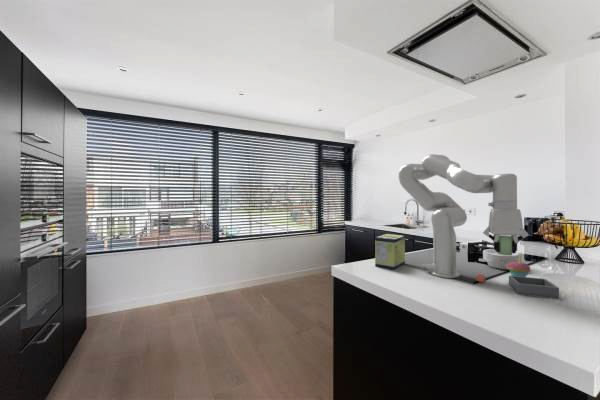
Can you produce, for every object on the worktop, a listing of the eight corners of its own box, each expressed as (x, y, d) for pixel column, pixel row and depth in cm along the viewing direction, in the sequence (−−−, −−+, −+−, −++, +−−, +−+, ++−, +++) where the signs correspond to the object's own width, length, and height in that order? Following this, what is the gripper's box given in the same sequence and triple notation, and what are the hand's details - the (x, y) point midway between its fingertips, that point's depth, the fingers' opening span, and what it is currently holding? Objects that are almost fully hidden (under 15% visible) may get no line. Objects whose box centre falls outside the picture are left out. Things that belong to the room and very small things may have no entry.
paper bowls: (475, 263, 143) (475, 249, 143) (501, 262, 145) (501, 248, 145) (500, 272, 128) (500, 255, 128) (528, 270, 130) (528, 254, 129)
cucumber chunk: (499, 254, 103) (499, 236, 103) (496, 252, 107) (496, 235, 107) (513, 255, 101) (513, 237, 101) (510, 253, 105) (510, 235, 105)
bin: (518, 294, 101) (518, 283, 101) (508, 284, 111) (508, 275, 111) (558, 298, 97) (559, 287, 96) (545, 288, 106) (545, 278, 106)
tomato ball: (476, 283, 114) (476, 275, 113) (474, 280, 117) (474, 272, 117) (486, 284, 112) (486, 276, 112) (484, 281, 115) (484, 273, 115)
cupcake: (535, 281, 115) (535, 253, 115) (512, 280, 117) (513, 253, 116) (522, 275, 123) (523, 249, 123) (502, 274, 125) (502, 248, 125)
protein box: (405, 263, 145) (405, 235, 145) (394, 270, 134) (394, 239, 133) (386, 260, 152) (386, 233, 152) (374, 266, 141) (374, 237, 140)
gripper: (480, 206, 104) (481, 252, 104) (536, 206, 96) (536, 256, 97) (477, 205, 110) (477, 249, 111) (528, 205, 103) (529, 251, 104)
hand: (505, 251), depth 104 cm, fingers closed on cucumber chunk, 4 cm apart
